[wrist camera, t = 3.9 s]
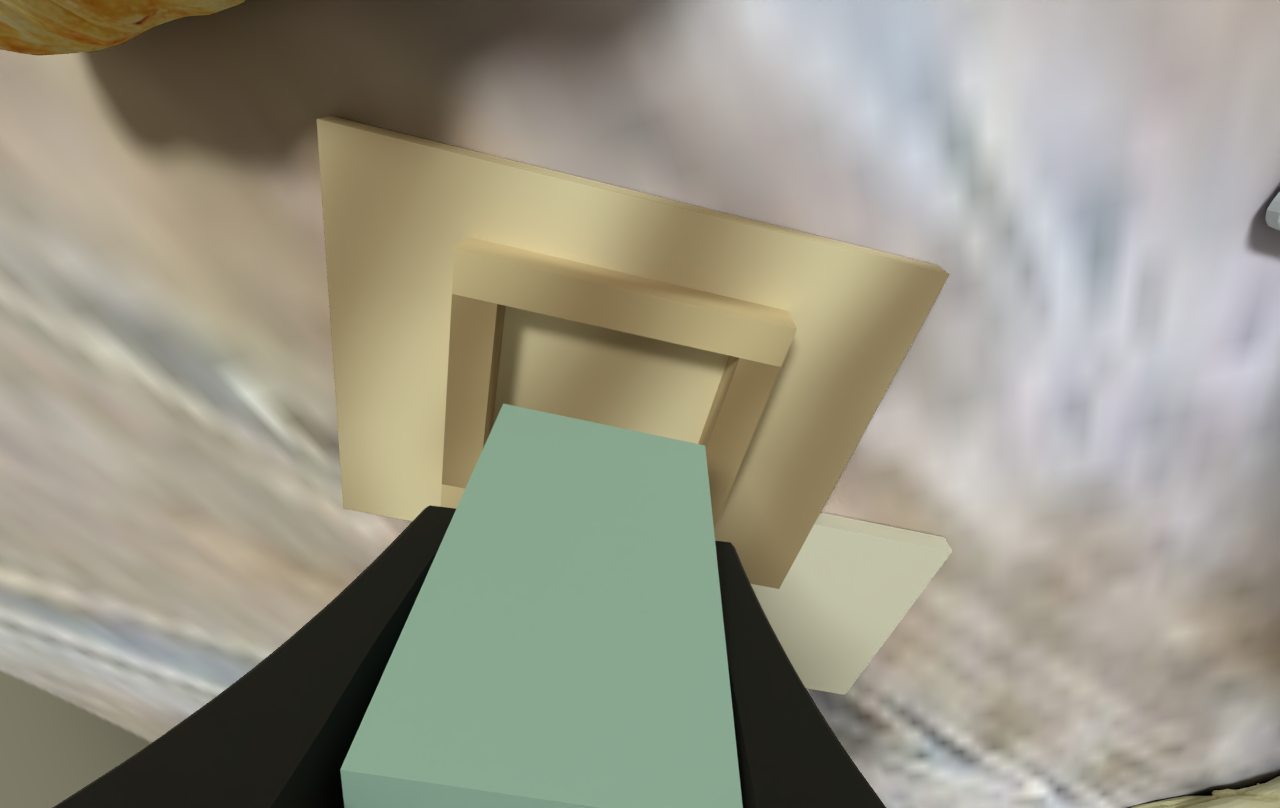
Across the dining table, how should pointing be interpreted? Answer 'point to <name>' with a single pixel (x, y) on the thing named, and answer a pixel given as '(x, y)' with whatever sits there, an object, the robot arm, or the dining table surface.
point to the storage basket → (1227, 798)
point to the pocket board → (596, 330)
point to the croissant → (89, 22)
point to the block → (561, 636)
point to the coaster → (847, 596)
